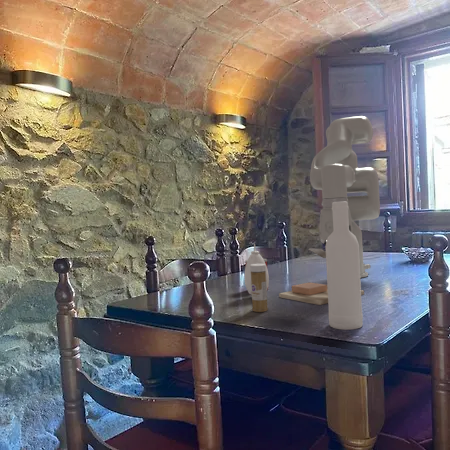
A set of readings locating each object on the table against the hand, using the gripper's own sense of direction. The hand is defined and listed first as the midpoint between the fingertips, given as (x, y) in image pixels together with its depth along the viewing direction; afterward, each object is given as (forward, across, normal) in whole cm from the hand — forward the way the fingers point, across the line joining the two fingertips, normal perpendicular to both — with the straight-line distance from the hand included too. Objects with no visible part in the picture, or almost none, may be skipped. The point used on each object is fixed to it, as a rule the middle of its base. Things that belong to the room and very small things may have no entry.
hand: (337, 262), depth 141 cm
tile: (+9, -9, 0) cm, 13 cm away
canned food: (+11, -30, -9) cm, 33 cm away
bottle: (+12, +23, -24) cm, 35 cm away
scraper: (-1, 0, -3) cm, 4 cm away
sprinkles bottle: (+11, -5, -28) cm, 30 cm away
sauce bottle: (+11, -20, -17) cm, 29 cm away
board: (+11, -6, -2) cm, 13 cm away
